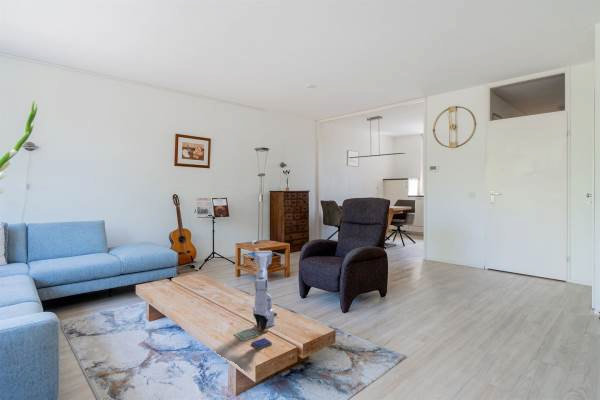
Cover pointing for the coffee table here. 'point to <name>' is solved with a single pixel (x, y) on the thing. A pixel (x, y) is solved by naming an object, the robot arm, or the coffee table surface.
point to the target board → (246, 334)
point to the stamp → (261, 330)
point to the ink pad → (261, 343)
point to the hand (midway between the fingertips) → (261, 328)
